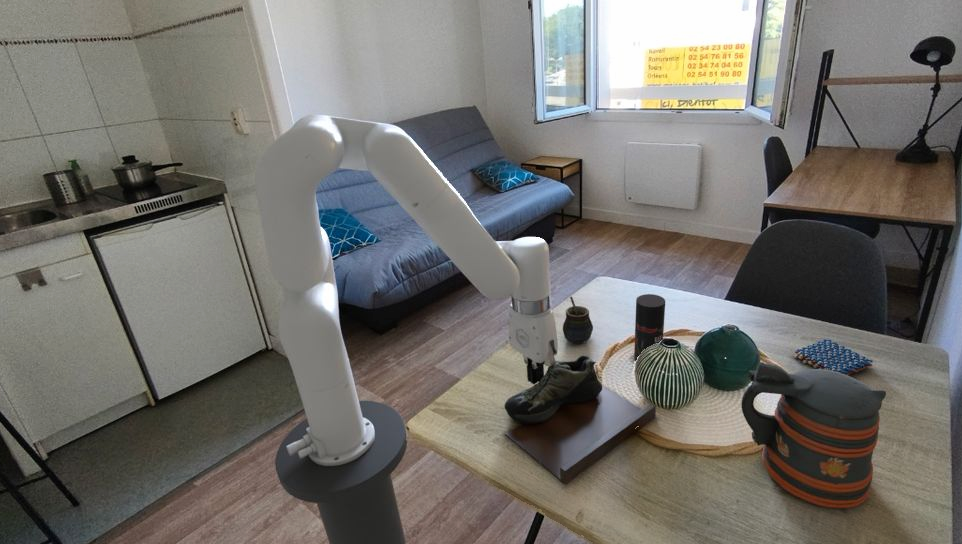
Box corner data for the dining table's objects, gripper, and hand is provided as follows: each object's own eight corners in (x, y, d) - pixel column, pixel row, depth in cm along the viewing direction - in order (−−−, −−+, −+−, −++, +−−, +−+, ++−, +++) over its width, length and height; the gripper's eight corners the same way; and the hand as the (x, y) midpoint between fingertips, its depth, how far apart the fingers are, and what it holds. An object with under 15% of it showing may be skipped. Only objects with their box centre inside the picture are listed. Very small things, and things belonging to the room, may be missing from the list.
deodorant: (652, 370, 110) (655, 309, 104) (628, 360, 114) (630, 301, 108) (666, 358, 113) (670, 299, 107) (643, 348, 117) (645, 291, 111)
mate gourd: (573, 350, 119) (572, 313, 115) (556, 336, 126) (555, 301, 122) (598, 342, 122) (598, 305, 118) (580, 328, 128) (580, 293, 124)
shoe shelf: (565, 484, 84) (565, 471, 82) (505, 434, 96) (504, 422, 94) (655, 418, 96) (656, 405, 95) (592, 381, 108) (592, 369, 107)
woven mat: (825, 343, 113) (827, 336, 112) (873, 368, 104) (876, 359, 103) (790, 356, 110) (792, 348, 109) (837, 382, 101) (839, 374, 100)
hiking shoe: (496, 409, 102) (492, 371, 98) (583, 374, 110) (582, 338, 106) (517, 435, 95) (513, 395, 91) (608, 395, 103) (608, 357, 99)
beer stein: (745, 501, 78) (762, 397, 69) (725, 434, 90) (738, 340, 82) (887, 516, 73) (923, 406, 65) (845, 444, 86) (871, 345, 78)
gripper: (491, 296, 100) (499, 372, 107) (544, 322, 89) (548, 405, 96) (520, 283, 104) (525, 358, 111) (573, 307, 93) (575, 388, 100)
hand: (536, 379), depth 104 cm, fingers closed
